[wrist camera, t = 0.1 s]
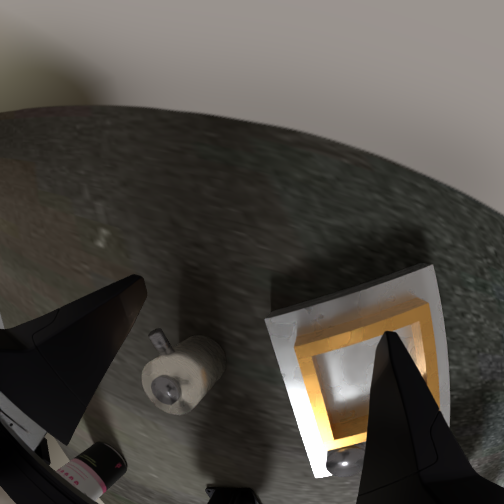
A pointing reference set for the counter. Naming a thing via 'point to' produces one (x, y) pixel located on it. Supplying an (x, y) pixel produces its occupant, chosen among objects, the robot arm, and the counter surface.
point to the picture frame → (355, 358)
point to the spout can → (182, 372)
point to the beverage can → (94, 470)
